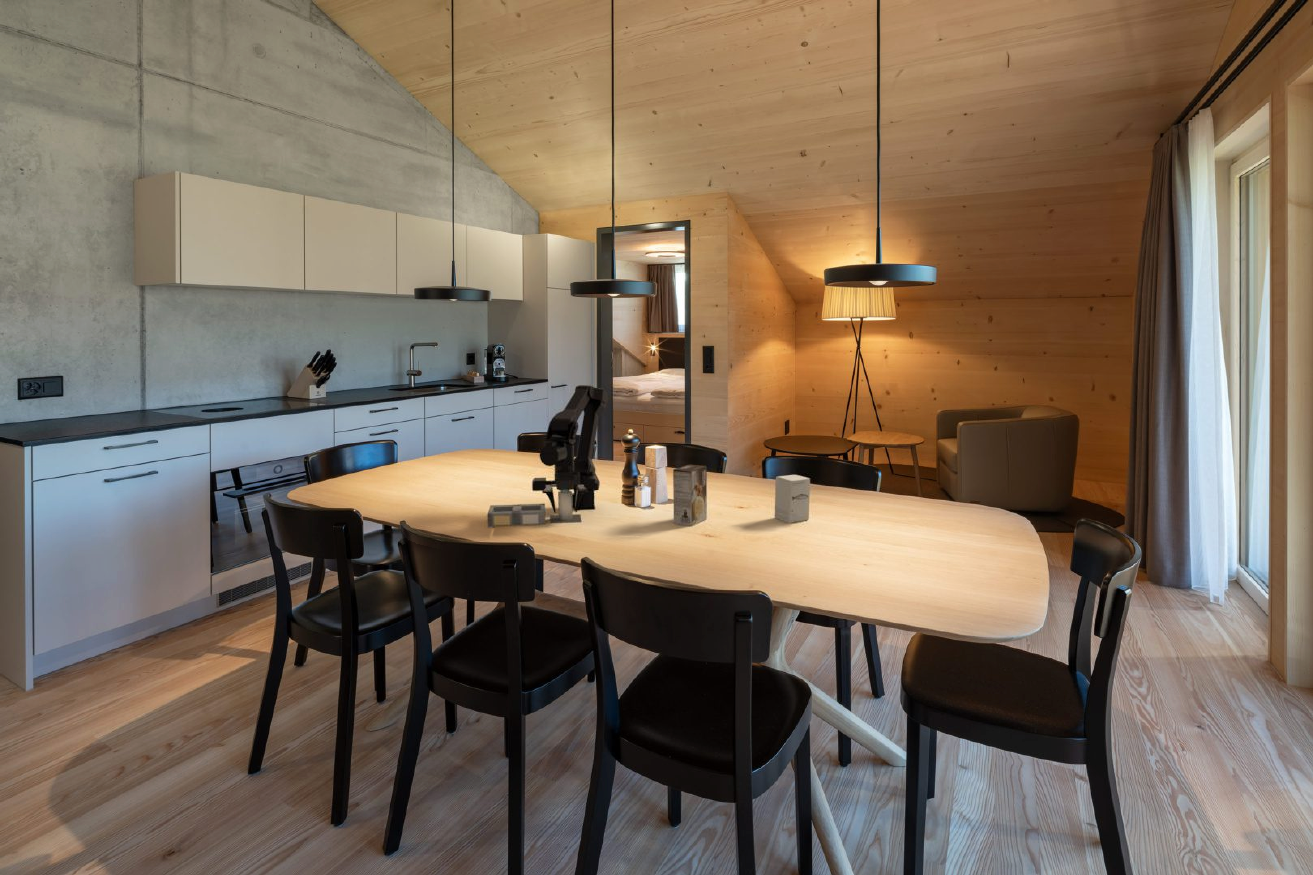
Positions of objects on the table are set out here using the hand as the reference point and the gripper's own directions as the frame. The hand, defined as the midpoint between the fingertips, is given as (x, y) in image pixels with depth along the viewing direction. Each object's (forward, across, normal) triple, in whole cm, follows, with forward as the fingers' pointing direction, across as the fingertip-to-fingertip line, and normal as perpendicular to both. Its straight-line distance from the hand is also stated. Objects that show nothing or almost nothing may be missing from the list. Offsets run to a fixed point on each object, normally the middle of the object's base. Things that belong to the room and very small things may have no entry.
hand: (565, 512), depth 217 cm
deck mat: (+2, 0, 0) cm, 2 cm away
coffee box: (+3, +36, -7) cm, 37 cm away
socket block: (+2, -14, 0) cm, 14 cm away
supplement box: (+3, +66, -9) cm, 67 cm away
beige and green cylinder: (+2, 0, 0) cm, 2 cm away
